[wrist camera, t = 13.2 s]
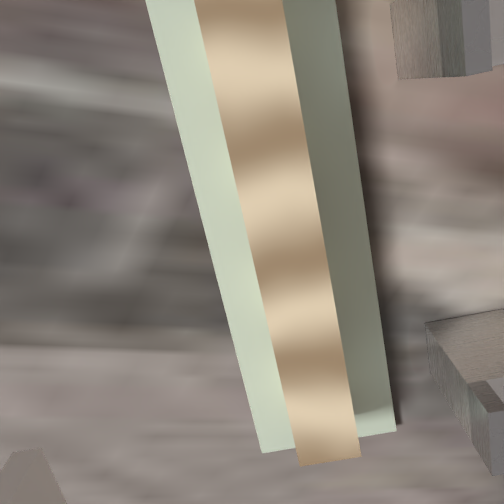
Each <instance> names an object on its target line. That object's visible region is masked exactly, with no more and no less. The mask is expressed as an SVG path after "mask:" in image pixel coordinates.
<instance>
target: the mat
mask: <svg viewBox="0 0 504 504" xmlns="http://www.w3.org/2000/svg"><path fill="white" fill-rule="evenodd" d="M145 1H146V4H147V8H148V12H149V16H150V20H151V24H152V28H153V32H154V36H155V39H156V43H157V47H158V51H159V55H160V59H161V63H162V67H163V70H164V74H165V78H166V82H167V86H168V90H169V94H170V98H171V102H172V105H173V109H174V113H175V117H176V121H177V125H178V129H179V133H180V137H181V140H182V144H183V148H184V152H185V156H186V160H187V164H188V168H189V171H190V175H191V179H192V183H193V187H194V191H195V195H196V199H197V203H198V206H199V210H200V214H201V218H202V222H203V226H204V230H205V234H206V238H207V241H208V245H209V249H210V253H211V257H212V261H213V265H214V269H215V272H216V276H217V280H218V284H219V288H220V292H221V296H222V300H223V304H224V307H225V311H226V315H227V319H228V323H229V327H230V331H231V335H232V339H233V342H234V346H235V350H236V354H237V358H238V362H239V366H240V370H241V373H242V377H243V381H244V385H245V389H246V393H247V397H248V401H249V405H250V408H251V412H252V416H253V420H254V424H255V428H256V432H257V436H258V440H259V443H260V447H261V451H262V453H267V452H273V451H279V450H285V449H291V448H296V447H295V442H294V438H293V434H292V429H291V425H290V420H289V416H288V412H287V407H286V403H285V399H284V394H283V390H282V385H281V381H280V377H279V372H278V368H277V363H276V359H275V355H274V350H273V346H272V341H271V337H270V333H269V328H268V324H267V319H266V315H265V311H264V306H263V302H262V297H261V293H260V289H259V284H258V280H257V275H256V271H255V267H254V262H253V258H252V253H251V249H250V245H249V240H248V236H247V231H246V227H245V223H244V218H243V214H242V209H241V205H240V201H239V196H238V192H237V187H236V183H235V179H234V174H233V170H232V166H231V161H230V157H229V152H228V148H227V144H226V139H225V135H224V130H223V126H222V122H221V117H220V113H219V108H218V104H217V100H216V95H215V91H214V86H213V82H212V78H211V73H210V69H209V64H208V60H207V56H206V51H205V47H204V42H203V38H202V34H201V29H200V25H199V20H198V16H197V12H196V7H195V3H194V0H145ZM282 2H283V8H284V14H285V20H286V25H287V31H288V37H289V43H290V48H291V54H292V60H293V66H294V71H295V77H296V83H297V89H298V94H299V100H300V106H301V112H302V117H303V123H304V129H305V135H306V141H307V146H308V152H309V158H310V164H311V169H312V175H313V181H314V187H315V192H316V198H317V204H318V210H319V215H320V221H321V227H322V233H323V238H324V244H325V250H326V256H327V261H328V267H329V273H330V279H331V284H332V290H333V296H334V302H335V307H336V313H337V319H338V325H339V330H340V336H341V342H342V348H343V353H344V359H345V365H346V371H347V376H348V382H349V388H350V394H351V399H352V405H353V411H354V417H355V422H356V428H357V434H358V437H364V436H370V435H376V434H382V433H388V432H394V431H396V424H395V417H394V410H393V403H392V396H391V389H390V382H389V375H388V368H387V361H386V354H385V347H384V340H383V333H382V326H381V319H380V312H379V305H378V298H377V291H376V283H375V276H374V269H373V262H372V255H371V248H370V241H369V234H368V227H367V220H366V213H365V206H364V199H363V192H362V185H361V178H360V171H359V164H358V157H357V150H356V143H355V136H354V128H353V121H352V114H351V107H350V100H349V93H348V86H347V79H346V72H345V65H344V58H343V51H342V44H341V37H340V30H339V23H338V16H337V9H336V2H335V0H282Z"/></svg>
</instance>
